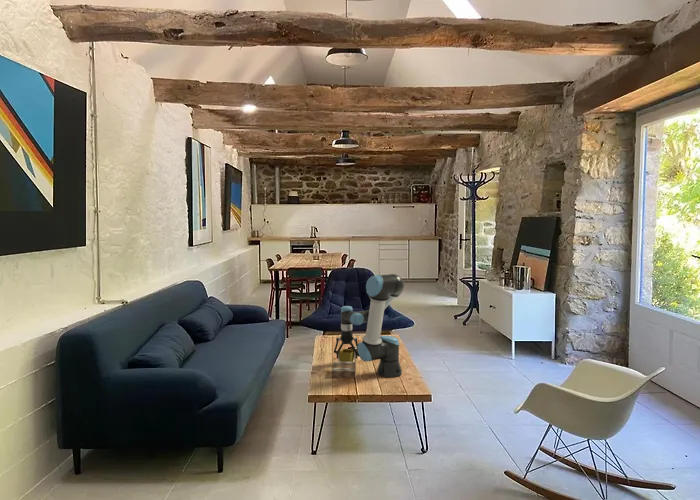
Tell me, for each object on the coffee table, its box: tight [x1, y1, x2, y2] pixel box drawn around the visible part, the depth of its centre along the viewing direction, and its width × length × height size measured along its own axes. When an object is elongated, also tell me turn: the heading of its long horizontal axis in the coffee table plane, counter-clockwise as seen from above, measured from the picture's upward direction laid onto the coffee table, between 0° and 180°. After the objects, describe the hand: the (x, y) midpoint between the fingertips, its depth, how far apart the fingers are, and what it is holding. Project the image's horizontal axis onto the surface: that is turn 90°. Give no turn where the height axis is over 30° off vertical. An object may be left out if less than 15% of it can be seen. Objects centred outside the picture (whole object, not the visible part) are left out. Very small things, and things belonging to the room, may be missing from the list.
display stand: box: [331, 361, 357, 379], centre depth 301 cm, size 14×14×6 cm
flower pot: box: [339, 348, 355, 362], centre depth 320 cm, size 9×9×9 cm
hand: (347, 363), depth 320 cm, fingers closed on flower pot, 10 cm apart
